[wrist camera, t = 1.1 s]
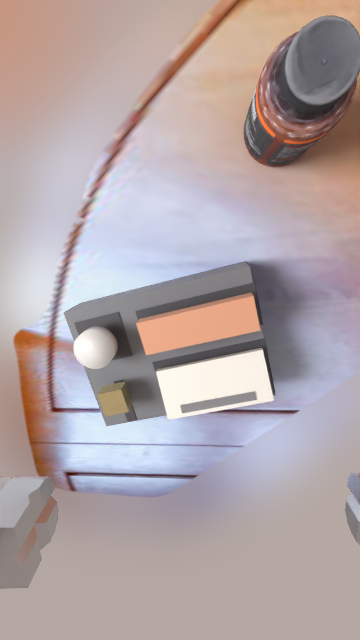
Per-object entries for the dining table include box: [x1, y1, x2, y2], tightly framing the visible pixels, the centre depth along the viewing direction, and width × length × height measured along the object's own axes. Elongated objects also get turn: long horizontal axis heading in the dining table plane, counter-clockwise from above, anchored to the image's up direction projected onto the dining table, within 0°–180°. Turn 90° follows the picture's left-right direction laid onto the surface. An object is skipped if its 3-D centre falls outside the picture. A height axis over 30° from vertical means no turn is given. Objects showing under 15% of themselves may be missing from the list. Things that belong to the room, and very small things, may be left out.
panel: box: [64, 262, 275, 426], centre depth 31 cm, size 18×13×4 cm
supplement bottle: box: [244, 16, 360, 167], centre depth 21 cm, size 6×6×11 cm
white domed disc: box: [74, 326, 118, 369], centre depth 27 cm, size 4×4×1 cm
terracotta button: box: [136, 293, 261, 355], centre depth 26 cm, size 10×3×1 cm, turn 105°
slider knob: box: [97, 381, 133, 416], centre depth 29 cm, size 2×2×2 cm
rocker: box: [156, 348, 274, 420], centre depth 28 cm, size 10×5×1 cm, turn 105°
